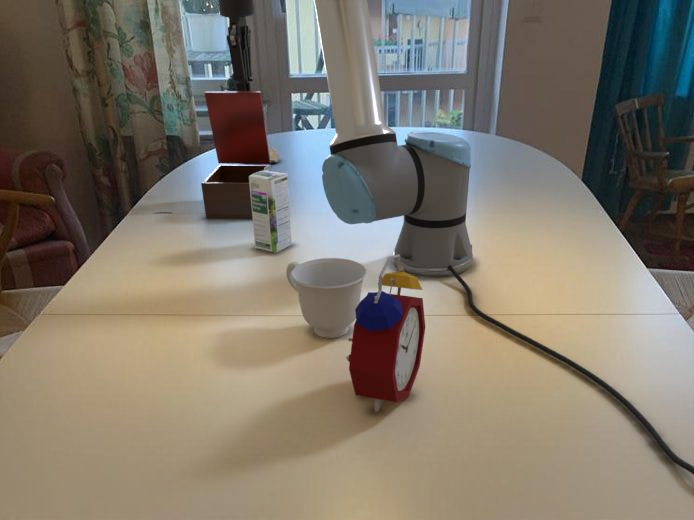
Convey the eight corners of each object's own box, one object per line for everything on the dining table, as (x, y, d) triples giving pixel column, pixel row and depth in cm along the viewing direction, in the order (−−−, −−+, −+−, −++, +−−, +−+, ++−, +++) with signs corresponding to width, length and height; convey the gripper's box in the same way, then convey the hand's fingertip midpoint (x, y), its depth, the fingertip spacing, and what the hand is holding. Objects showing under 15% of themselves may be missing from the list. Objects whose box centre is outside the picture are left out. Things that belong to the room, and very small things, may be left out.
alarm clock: (392, 424, 98) (395, 281, 86) (332, 413, 101) (327, 272, 88) (424, 373, 109) (431, 239, 97) (369, 364, 111) (369, 232, 99)
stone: (242, 159, 209) (240, 142, 207) (279, 158, 210) (277, 141, 207) (240, 167, 203) (238, 149, 200) (278, 166, 203) (276, 148, 200)
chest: (259, 219, 167) (256, 183, 162) (205, 218, 168) (201, 183, 163) (273, 198, 179) (270, 164, 174) (223, 197, 180) (219, 164, 176)
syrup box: (254, 248, 152) (246, 175, 143) (271, 240, 156) (265, 168, 147) (275, 253, 149) (269, 179, 140) (293, 244, 153) (288, 172, 144)
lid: (260, 92, 161) (260, 90, 161) (204, 92, 162) (205, 91, 163) (270, 163, 174) (270, 162, 174) (218, 163, 175) (219, 161, 176)
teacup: (314, 304, 129) (311, 248, 123) (382, 326, 121) (382, 268, 115) (266, 329, 122) (261, 270, 116) (335, 354, 114) (333, 293, 108)
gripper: (245, -3, 154) (256, 119, 169) (258, -8, 164) (267, 108, 179) (210, -3, 155) (224, 119, 169) (225, -8, 165) (237, 108, 180)
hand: (246, 113), depth 174 cm, fingers closed
